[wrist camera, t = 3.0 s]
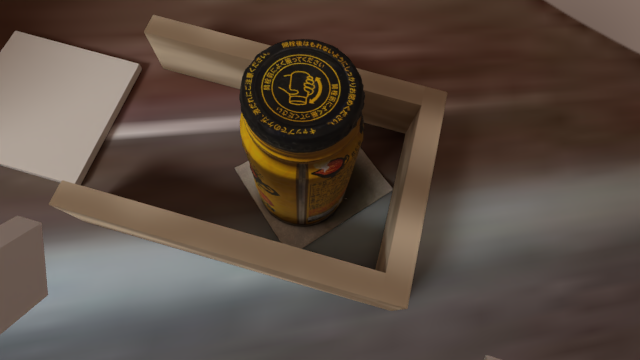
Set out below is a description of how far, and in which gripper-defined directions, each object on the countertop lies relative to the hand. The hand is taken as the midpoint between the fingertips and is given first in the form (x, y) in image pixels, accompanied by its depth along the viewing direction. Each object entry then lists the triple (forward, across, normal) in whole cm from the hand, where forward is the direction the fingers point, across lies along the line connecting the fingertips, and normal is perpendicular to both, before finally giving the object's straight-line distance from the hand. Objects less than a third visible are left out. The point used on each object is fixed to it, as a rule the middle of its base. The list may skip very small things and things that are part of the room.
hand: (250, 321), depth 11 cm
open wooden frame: (+16, -4, -3) cm, 17 cm away
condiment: (+16, 0, -3) cm, 17 cm away
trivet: (+16, -20, -3) cm, 26 cm away
